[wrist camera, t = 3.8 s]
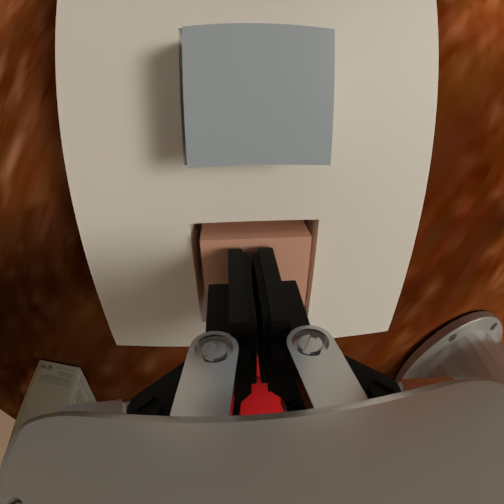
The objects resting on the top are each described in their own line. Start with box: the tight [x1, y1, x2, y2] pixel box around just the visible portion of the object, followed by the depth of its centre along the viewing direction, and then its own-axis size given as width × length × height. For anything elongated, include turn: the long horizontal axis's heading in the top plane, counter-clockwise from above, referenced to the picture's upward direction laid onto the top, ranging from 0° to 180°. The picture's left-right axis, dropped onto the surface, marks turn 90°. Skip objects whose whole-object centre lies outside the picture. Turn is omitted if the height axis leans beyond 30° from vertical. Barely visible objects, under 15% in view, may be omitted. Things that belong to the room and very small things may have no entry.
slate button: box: [182, 23, 335, 168], centre depth 9 cm, size 4×4×3 cm
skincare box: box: [8, 360, 96, 445], centre depth 17 cm, size 6×4×12 cm
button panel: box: [55, 0, 439, 346], centre depth 11 cm, size 14×22×4 cm, turn 0°
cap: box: [241, 355, 284, 415], centre depth 20 cm, size 8×6×6 cm
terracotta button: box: [200, 220, 312, 305], centre depth 13 cm, size 4×4×3 cm
